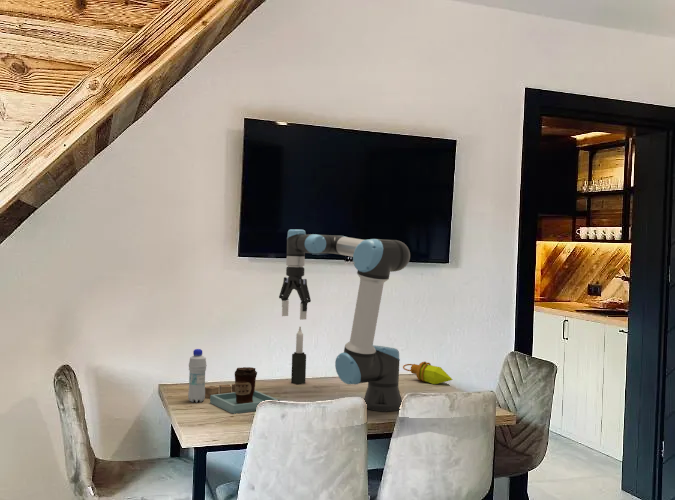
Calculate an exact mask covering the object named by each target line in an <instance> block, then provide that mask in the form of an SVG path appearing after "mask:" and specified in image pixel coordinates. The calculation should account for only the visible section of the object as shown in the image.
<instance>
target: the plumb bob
mask: <svg viewBox="0 0 675 500" xmlns="http://www.w3.org/2000/svg"><path fill="white" fill-rule="evenodd" d="M406 366H411V367H410V369H408V368H405V367H406ZM402 369H403V370H405V371H407V372H410V373H411V374H413V375H416V379H417V380H418V381H420V382H423V383H430V384H432V385H438V384H442V383H446V382H449V381H453V378H452V377H451V376H450V375H449V374H448V373H447V372H446V371H445V370H444V369H443V368H442V367H440V366H436V365H431V363H430V362H427V361H422V362H420V363H419V364H415V363H405V364H404V365H403V366H402Z"/></svg>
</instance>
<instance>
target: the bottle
mask: <svg viewBox="0 0 675 500" xmlns="http://www.w3.org/2000/svg"><path fill="white" fill-rule="evenodd" d="M192 353H193V354H192V356H191V357H190V358H189V361H188V371H189V375H188V377H189V380H188V381H189V382H188V384H189V385H188V393H187V395H188V401H189V402H191V403H194V401H195V403H197V404H198V401H199V403H202V402H204V401H205V399H206V398H205V387H206V371H207V358H206V357H205V355H203V350H202V349H201V348H196V349H193V351H192Z"/></svg>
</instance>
